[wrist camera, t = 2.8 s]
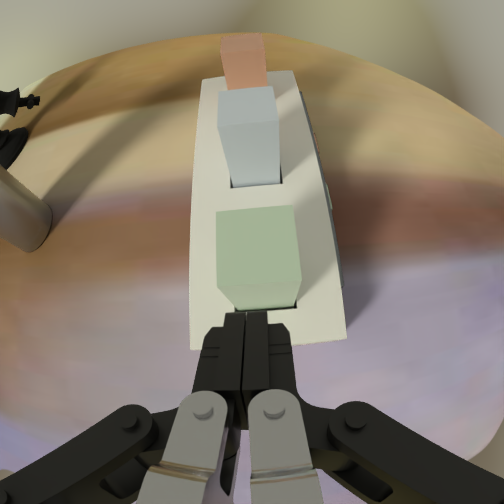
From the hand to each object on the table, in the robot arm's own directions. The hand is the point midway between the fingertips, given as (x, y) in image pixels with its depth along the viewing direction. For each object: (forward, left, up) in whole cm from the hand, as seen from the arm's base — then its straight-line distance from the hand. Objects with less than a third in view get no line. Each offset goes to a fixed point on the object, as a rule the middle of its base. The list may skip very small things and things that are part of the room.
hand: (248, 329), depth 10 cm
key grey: (-13, +13, -15) cm, 24 cm away
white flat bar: (-13, +13, -20) cm, 28 cm away
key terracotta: (-22, +22, -15) cm, 35 cm away
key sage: (-4, +4, -15) cm, 16 cm away
